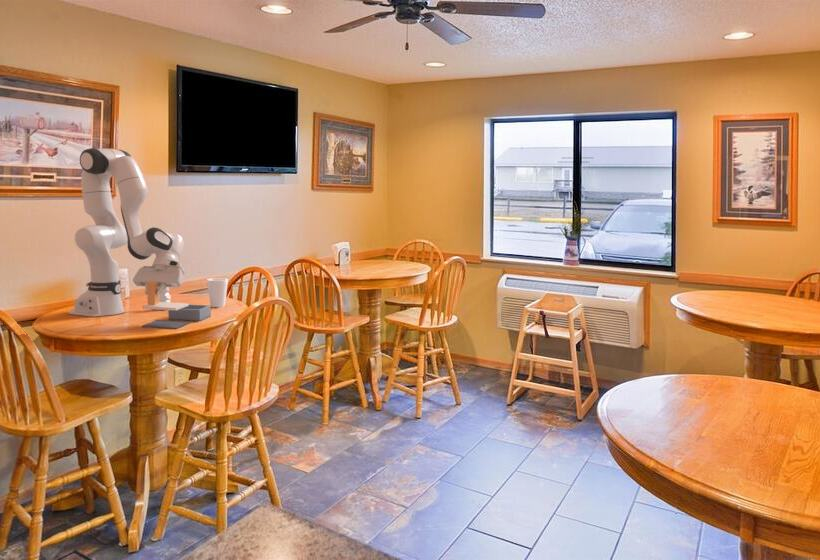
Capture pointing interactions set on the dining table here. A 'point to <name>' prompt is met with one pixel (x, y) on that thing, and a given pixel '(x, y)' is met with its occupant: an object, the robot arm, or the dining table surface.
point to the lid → (154, 300)
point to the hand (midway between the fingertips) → (152, 293)
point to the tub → (191, 313)
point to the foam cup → (217, 291)
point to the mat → (166, 324)
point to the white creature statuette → (165, 295)
